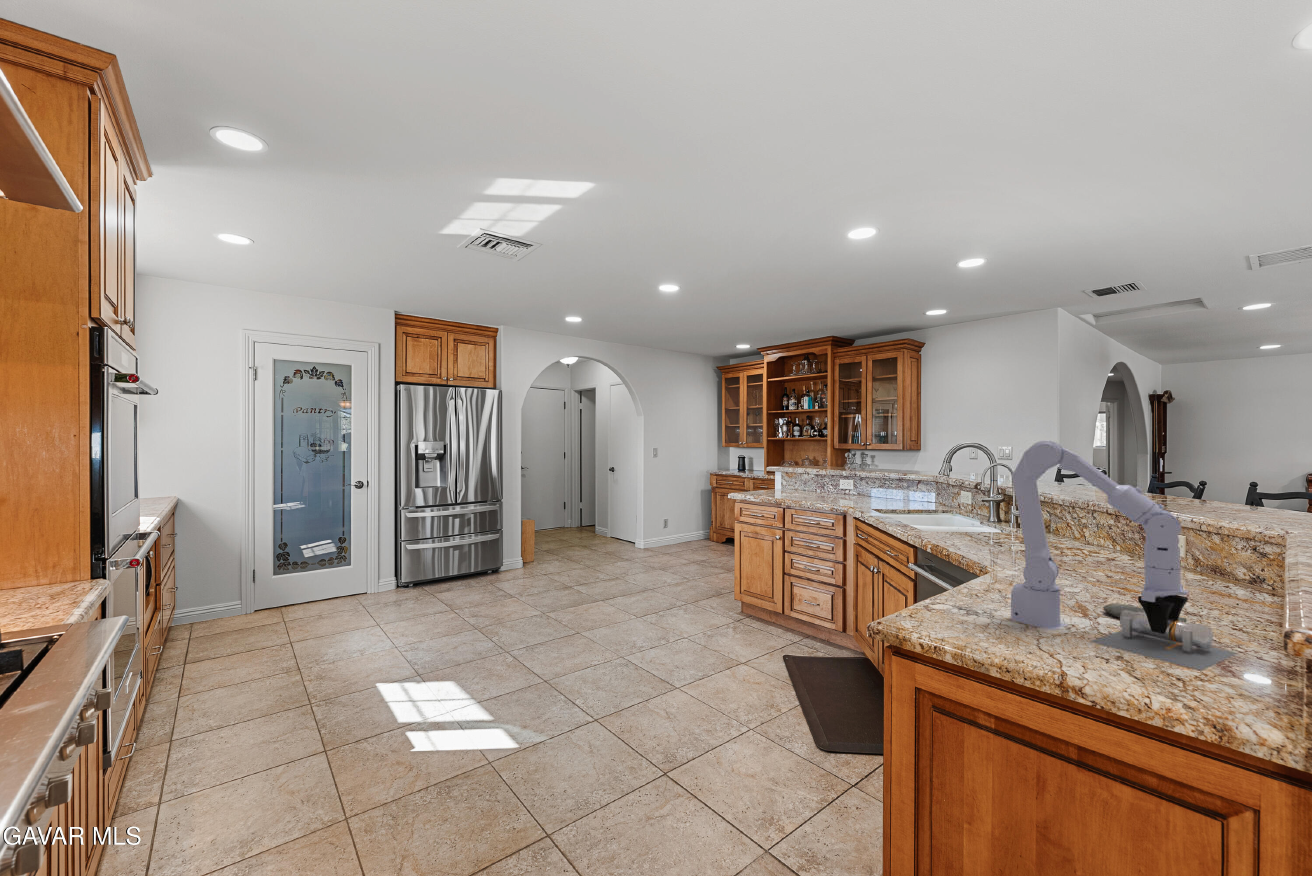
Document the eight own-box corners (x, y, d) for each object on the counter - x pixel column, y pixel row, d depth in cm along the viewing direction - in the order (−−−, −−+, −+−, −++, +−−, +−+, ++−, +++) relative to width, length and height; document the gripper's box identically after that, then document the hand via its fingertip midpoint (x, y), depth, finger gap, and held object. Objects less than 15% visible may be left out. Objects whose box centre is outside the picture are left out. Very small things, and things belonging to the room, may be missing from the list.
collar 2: (1182, 652, 113) (1182, 630, 113) (1198, 645, 117) (1198, 623, 117) (1190, 654, 112) (1189, 631, 112) (1206, 647, 116) (1206, 625, 116)
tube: (1119, 630, 124) (1119, 610, 124) (1129, 628, 126) (1129, 609, 126) (1204, 650, 111) (1204, 628, 112) (1212, 647, 113) (1212, 626, 114)
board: (1089, 644, 120) (1089, 641, 120) (1129, 630, 128) (1129, 627, 128) (1201, 673, 104) (1201, 670, 104) (1237, 656, 112) (1237, 653, 112)
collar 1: (1123, 637, 122) (1122, 617, 122) (1139, 631, 126) (1139, 611, 126) (1129, 639, 121) (1129, 618, 121) (1146, 633, 125) (1146, 613, 125)
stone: (1098, 618, 137) (1181, 642, 126) (1100, 603, 136) (1184, 626, 125) (1107, 605, 144) (1186, 627, 133) (1109, 590, 143) (1188, 611, 132)
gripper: (1171, 574, 112) (1172, 642, 112) (1200, 566, 119) (1202, 630, 119) (1128, 568, 118) (1130, 631, 118) (1159, 561, 125) (1160, 621, 125)
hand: (1163, 630), depth 119 cm, fingers closed on tube, 4 cm apart
